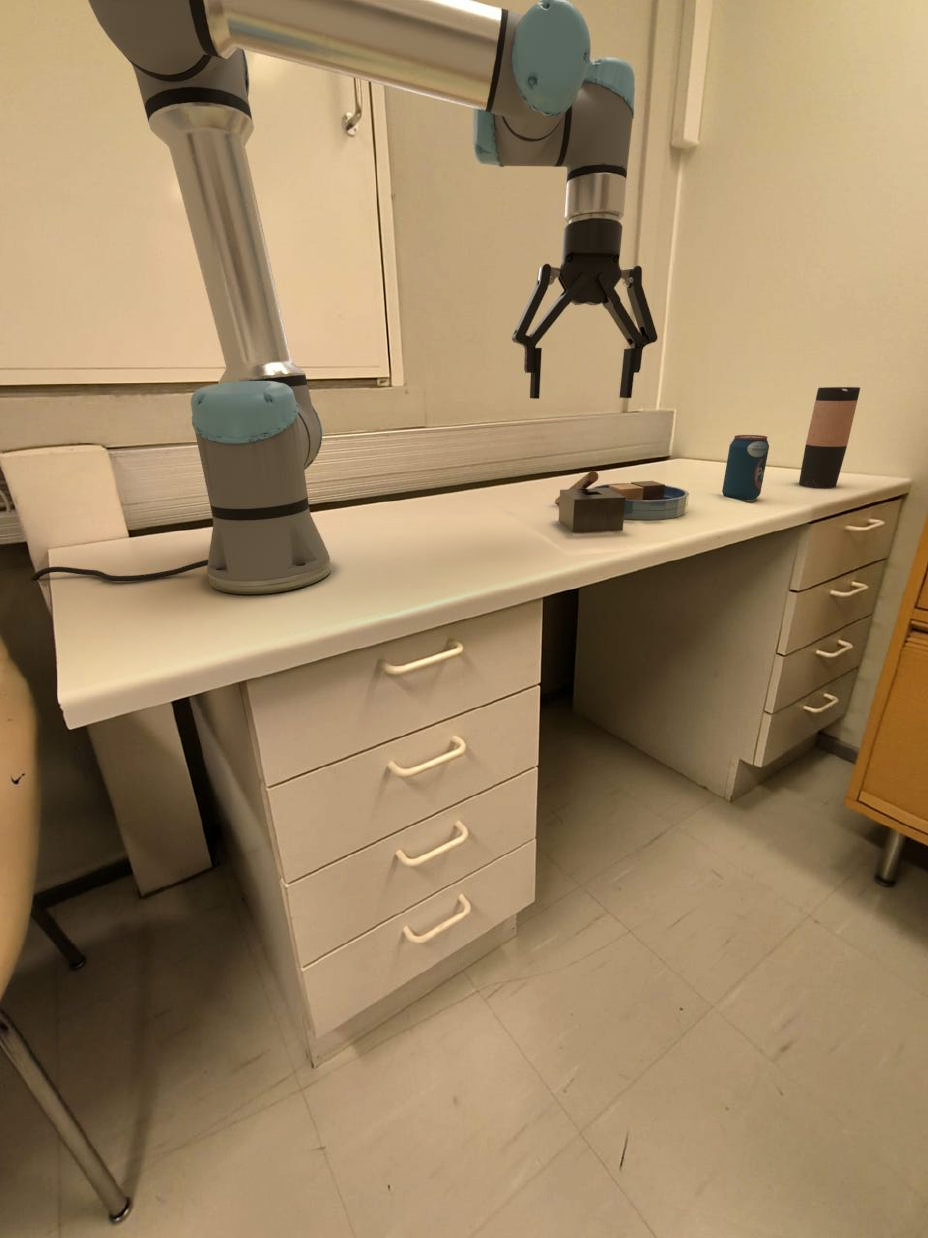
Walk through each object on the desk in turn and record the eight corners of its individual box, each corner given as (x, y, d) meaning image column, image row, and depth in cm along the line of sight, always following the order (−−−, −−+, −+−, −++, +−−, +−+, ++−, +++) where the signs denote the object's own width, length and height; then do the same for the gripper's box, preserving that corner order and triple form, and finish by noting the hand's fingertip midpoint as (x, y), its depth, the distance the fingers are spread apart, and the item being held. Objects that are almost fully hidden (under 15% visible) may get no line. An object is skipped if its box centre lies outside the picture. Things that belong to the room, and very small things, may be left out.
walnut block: (640, 510, 101) (643, 486, 99) (628, 505, 105) (630, 482, 103) (662, 509, 102) (665, 484, 100) (649, 504, 106) (652, 480, 104)
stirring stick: (586, 472, 89) (553, 498, 109) (589, 483, 89) (556, 507, 109) (597, 469, 90) (562, 496, 109) (599, 480, 90) (564, 505, 110)
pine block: (618, 514, 99) (620, 489, 97) (606, 509, 103) (608, 484, 101) (641, 512, 100) (643, 487, 98) (628, 507, 104) (631, 483, 102)
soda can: (761, 503, 109) (774, 438, 104) (722, 501, 111) (733, 437, 106) (756, 496, 115) (767, 434, 110) (719, 494, 117) (729, 434, 112)
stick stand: (572, 537, 89) (574, 499, 86) (558, 525, 96) (559, 489, 94) (622, 535, 89) (626, 497, 87) (604, 522, 97) (607, 487, 94)
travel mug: (805, 481, 129) (826, 386, 121) (842, 485, 124) (866, 386, 116) (791, 485, 125) (811, 387, 117) (829, 489, 119) (853, 387, 111)
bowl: (606, 526, 94) (608, 502, 93) (575, 505, 110) (577, 484, 108) (703, 522, 96) (707, 498, 94) (660, 501, 112) (662, 481, 110)
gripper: (671, 232, 78) (651, 396, 86) (493, 227, 75) (491, 397, 84) (698, 218, 71) (673, 398, 80) (504, 212, 68) (500, 399, 77)
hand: (580, 398), depth 82 cm, fingers open, 13 cm apart
